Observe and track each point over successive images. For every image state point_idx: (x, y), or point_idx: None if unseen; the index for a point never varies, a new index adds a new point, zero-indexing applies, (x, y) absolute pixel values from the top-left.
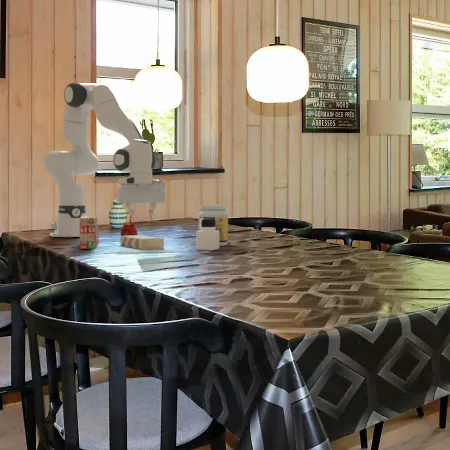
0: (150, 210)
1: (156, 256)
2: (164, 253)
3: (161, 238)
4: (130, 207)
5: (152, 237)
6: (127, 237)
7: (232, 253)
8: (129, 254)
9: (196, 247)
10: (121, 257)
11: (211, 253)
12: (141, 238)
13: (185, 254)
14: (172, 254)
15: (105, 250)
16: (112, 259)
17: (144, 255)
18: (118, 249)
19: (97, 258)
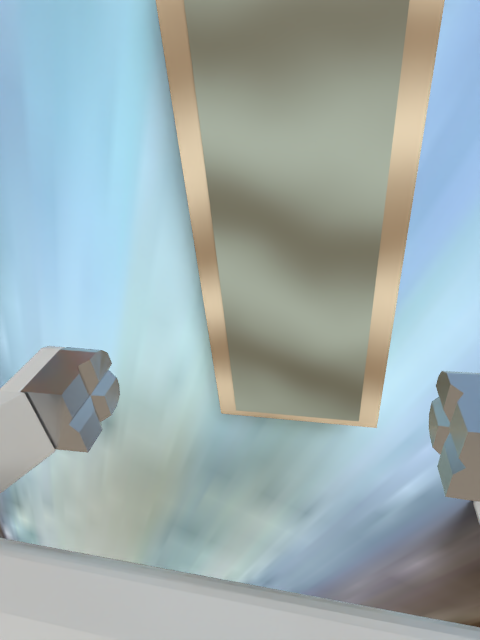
0: (443, 479)
1: (201, 555)
2: (259, 520)
3: (371, 411)
4: (4, 488)
5: (354, 325)
6: (179, 141)
7: (475, 617)
8: (133, 488)
9: (476, 512)
10: (100, 526)
11: (411, 588)
12: (234, 369)
13: (309, 565)
14: (270, 548)
15: (46, 321)
16: (75, 542)
17: (174, 526)
18: (114, 302)
19: (36, 513)
